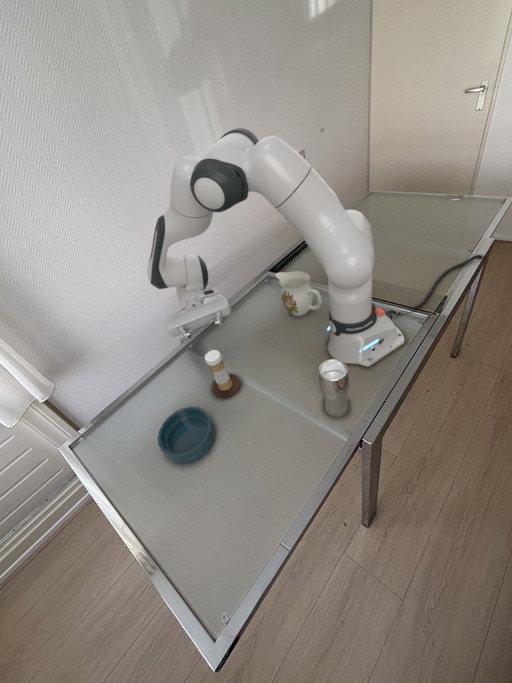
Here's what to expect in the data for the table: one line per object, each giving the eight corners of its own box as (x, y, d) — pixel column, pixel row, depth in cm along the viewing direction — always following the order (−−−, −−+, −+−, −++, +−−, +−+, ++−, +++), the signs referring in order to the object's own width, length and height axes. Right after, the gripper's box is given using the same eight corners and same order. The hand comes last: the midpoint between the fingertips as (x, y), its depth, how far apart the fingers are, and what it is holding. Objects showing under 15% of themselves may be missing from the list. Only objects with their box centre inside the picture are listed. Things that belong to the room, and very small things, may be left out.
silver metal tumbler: (350, 419, 81) (348, 381, 71) (322, 417, 83) (316, 381, 73) (349, 396, 85) (348, 358, 75) (323, 395, 87) (318, 358, 77)
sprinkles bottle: (218, 381, 99) (204, 351, 90) (232, 378, 99) (219, 347, 90) (218, 392, 96) (204, 362, 87) (233, 389, 95) (220, 359, 86)
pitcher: (314, 327, 108) (310, 294, 99) (273, 312, 119) (266, 281, 110) (331, 308, 113) (328, 275, 104) (290, 296, 124) (285, 265, 115)
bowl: (209, 409, 93) (204, 399, 89) (222, 451, 82) (216, 441, 79) (162, 429, 91) (155, 419, 88) (169, 474, 80) (160, 465, 77)
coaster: (236, 371, 101) (235, 369, 101) (244, 391, 95) (244, 389, 94) (209, 382, 101) (209, 381, 100) (216, 403, 94) (215, 401, 93)
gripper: (159, 310, 100) (164, 336, 89) (220, 287, 102) (232, 309, 91) (168, 326, 104) (173, 352, 93) (226, 302, 106) (238, 325, 95)
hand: (203, 330), depth 92 cm, fingers open, 8 cm apart
